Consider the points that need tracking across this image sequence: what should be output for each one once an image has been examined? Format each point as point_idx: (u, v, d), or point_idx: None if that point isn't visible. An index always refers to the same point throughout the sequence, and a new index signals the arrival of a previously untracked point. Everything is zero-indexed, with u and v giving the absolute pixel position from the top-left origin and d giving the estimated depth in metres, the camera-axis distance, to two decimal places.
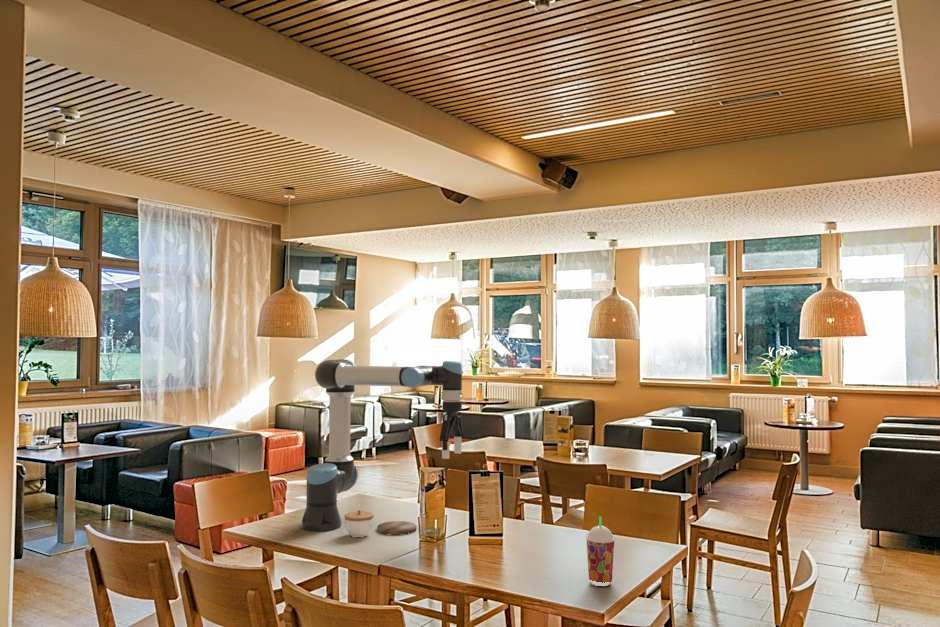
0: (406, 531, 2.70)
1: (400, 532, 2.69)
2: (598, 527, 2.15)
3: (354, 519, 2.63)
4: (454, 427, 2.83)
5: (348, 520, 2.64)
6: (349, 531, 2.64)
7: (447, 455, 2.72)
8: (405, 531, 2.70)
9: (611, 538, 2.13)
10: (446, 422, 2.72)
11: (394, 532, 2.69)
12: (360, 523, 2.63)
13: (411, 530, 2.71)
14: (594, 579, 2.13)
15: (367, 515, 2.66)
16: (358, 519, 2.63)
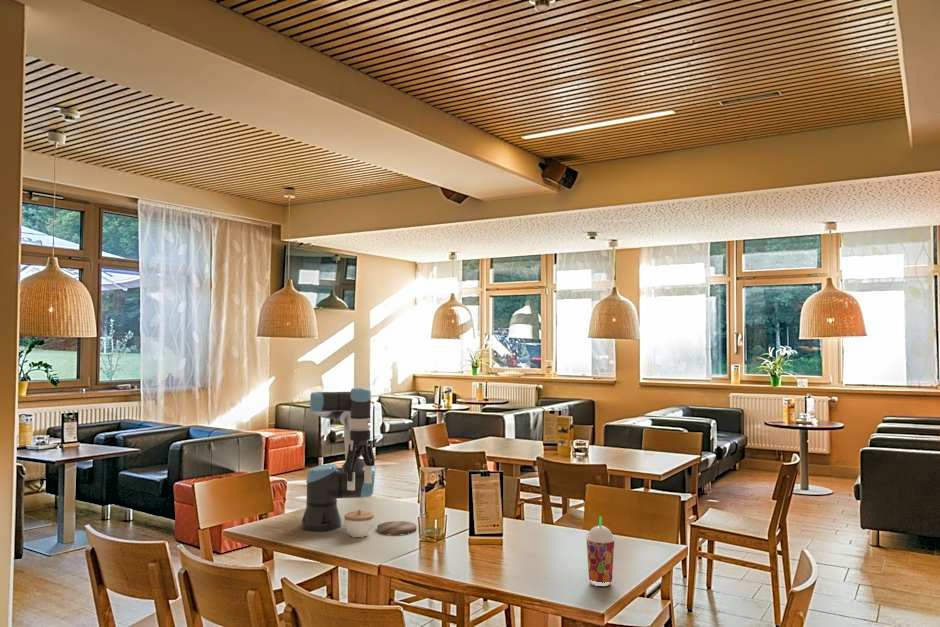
0: (406, 531, 2.70)
1: (400, 532, 2.69)
2: (598, 527, 2.15)
3: (354, 519, 2.63)
4: (363, 456, 2.73)
5: (348, 520, 2.64)
6: (349, 531, 2.64)
7: (352, 486, 2.61)
8: (405, 531, 2.70)
9: (611, 538, 2.13)
10: (351, 452, 2.62)
11: (394, 532, 2.69)
12: (360, 523, 2.63)
13: (411, 530, 2.71)
14: (594, 579, 2.13)
15: (367, 515, 2.66)
16: (358, 519, 2.63)
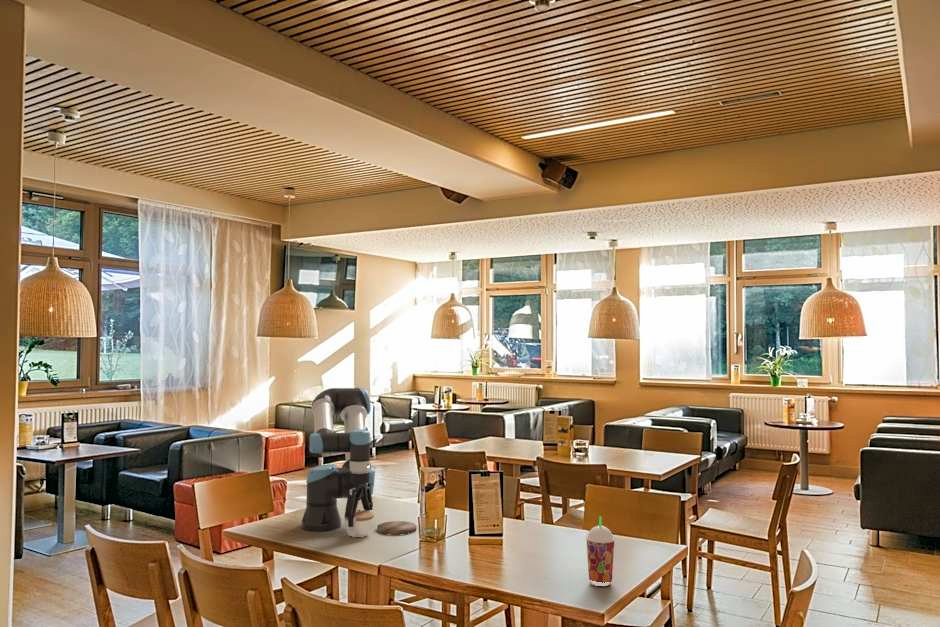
0: (406, 531, 2.70)
1: (400, 532, 2.69)
2: (598, 527, 2.15)
3: None
4: (362, 499, 2.72)
5: None
6: None
7: (353, 532, 2.62)
8: (405, 531, 2.70)
9: (611, 538, 2.13)
10: (351, 497, 2.62)
11: (394, 532, 2.69)
12: (360, 523, 2.63)
13: (411, 530, 2.71)
14: (594, 579, 2.13)
15: (367, 515, 2.66)
16: (358, 519, 2.63)
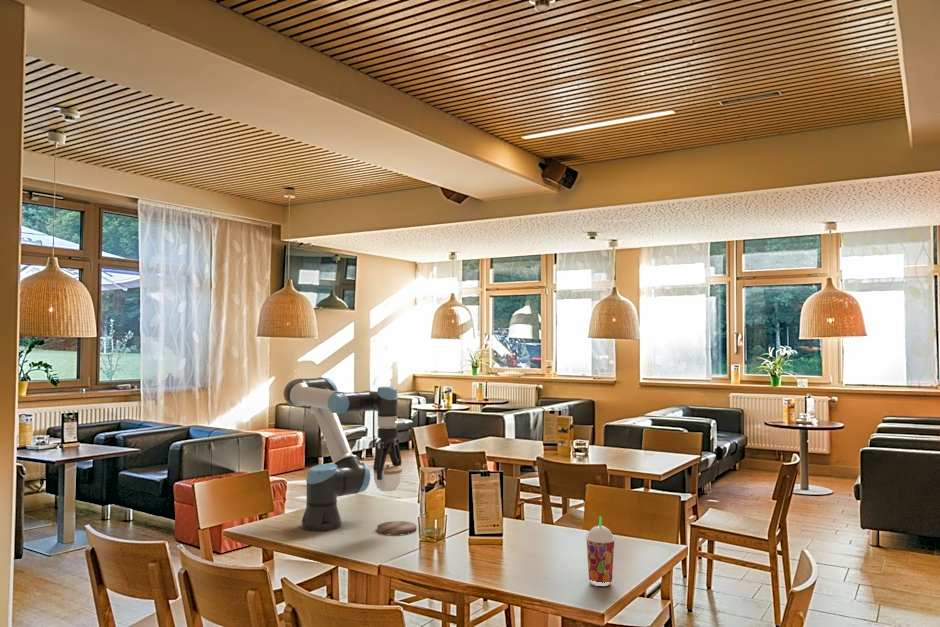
0: (406, 531, 2.70)
1: (400, 532, 2.69)
2: (598, 527, 2.15)
3: None
4: (391, 455, 2.78)
5: None
6: None
7: (382, 485, 2.68)
8: (405, 531, 2.70)
9: (611, 538, 2.13)
10: (379, 451, 2.68)
11: (394, 532, 2.69)
12: (388, 476, 2.69)
13: (411, 530, 2.71)
14: (594, 579, 2.13)
15: (395, 469, 2.72)
16: (386, 472, 2.69)
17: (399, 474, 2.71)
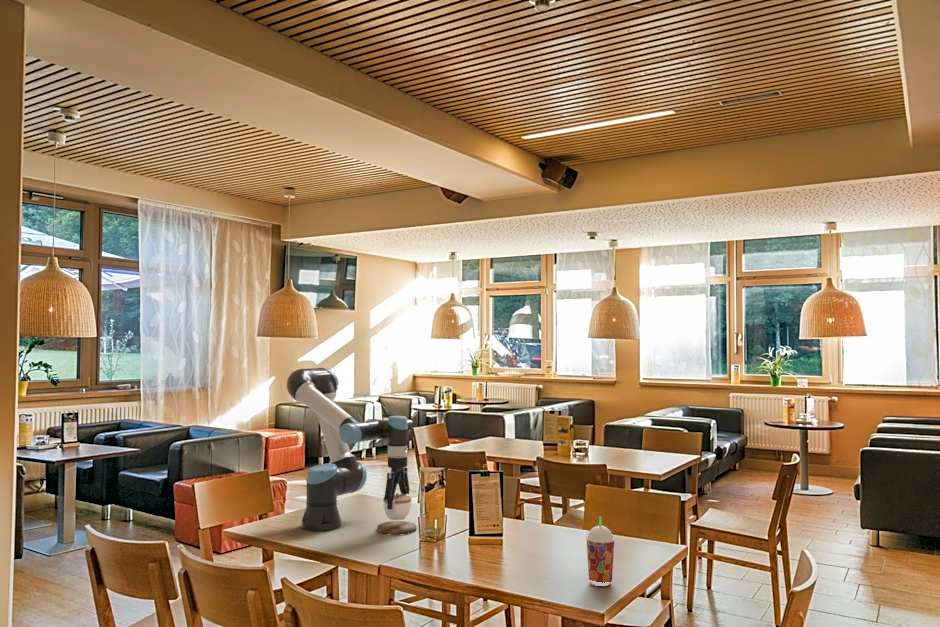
0: (406, 531, 2.70)
1: (400, 532, 2.69)
2: (598, 527, 2.15)
3: None
4: (400, 483, 2.80)
5: None
6: None
7: (392, 514, 2.70)
8: (405, 531, 2.70)
9: (611, 538, 2.13)
10: (390, 481, 2.70)
11: (394, 532, 2.69)
12: (398, 505, 2.71)
13: (411, 530, 2.71)
14: (594, 579, 2.13)
15: (405, 498, 2.75)
16: (397, 502, 2.71)
17: (409, 503, 2.74)
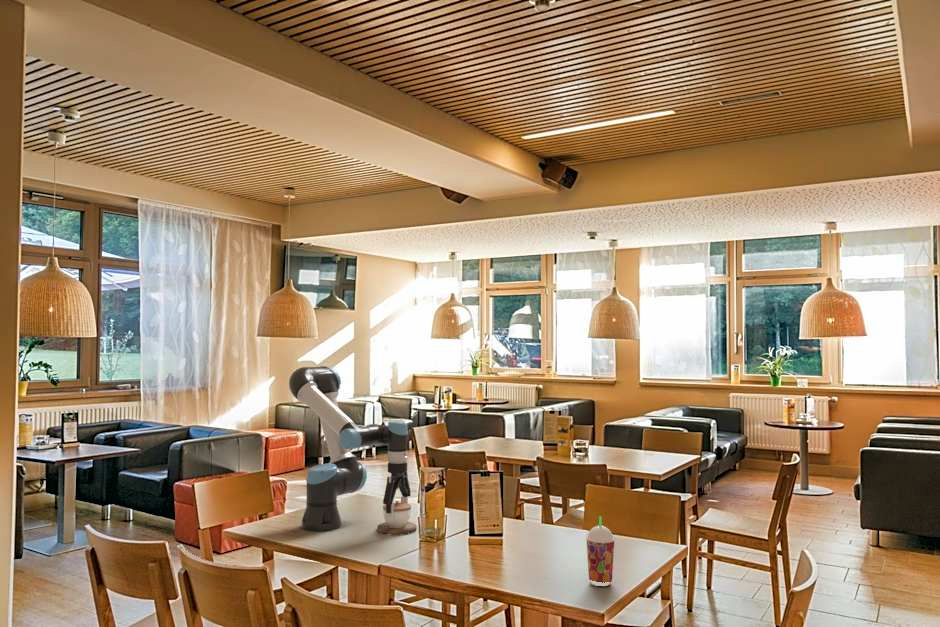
0: (406, 531, 2.70)
1: (400, 532, 2.69)
2: (598, 527, 2.15)
3: (393, 510, 2.71)
4: (400, 487, 2.81)
5: None
6: None
7: (391, 518, 2.69)
8: (405, 531, 2.70)
9: (611, 538, 2.13)
10: (390, 485, 2.70)
11: (394, 532, 2.69)
12: (398, 513, 2.71)
13: (411, 530, 2.71)
14: (594, 579, 2.13)
15: (405, 506, 2.75)
16: (397, 510, 2.71)
17: (409, 511, 2.74)
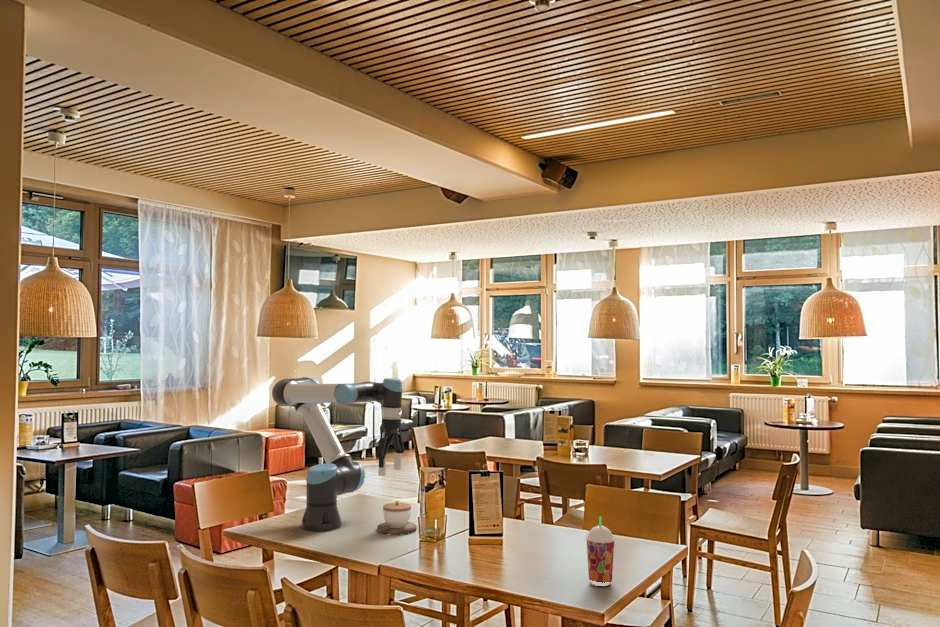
0: (406, 531, 2.70)
1: (400, 532, 2.69)
2: (598, 527, 2.15)
3: (393, 510, 2.71)
4: (394, 444, 2.85)
5: (387, 511, 2.72)
6: (388, 521, 2.73)
7: (383, 472, 2.74)
8: (405, 531, 2.70)
9: (611, 538, 2.13)
10: (383, 440, 2.74)
11: (394, 532, 2.69)
12: (398, 513, 2.71)
13: (411, 530, 2.71)
14: (594, 579, 2.13)
15: (405, 506, 2.75)
16: (397, 510, 2.71)
17: (409, 511, 2.74)
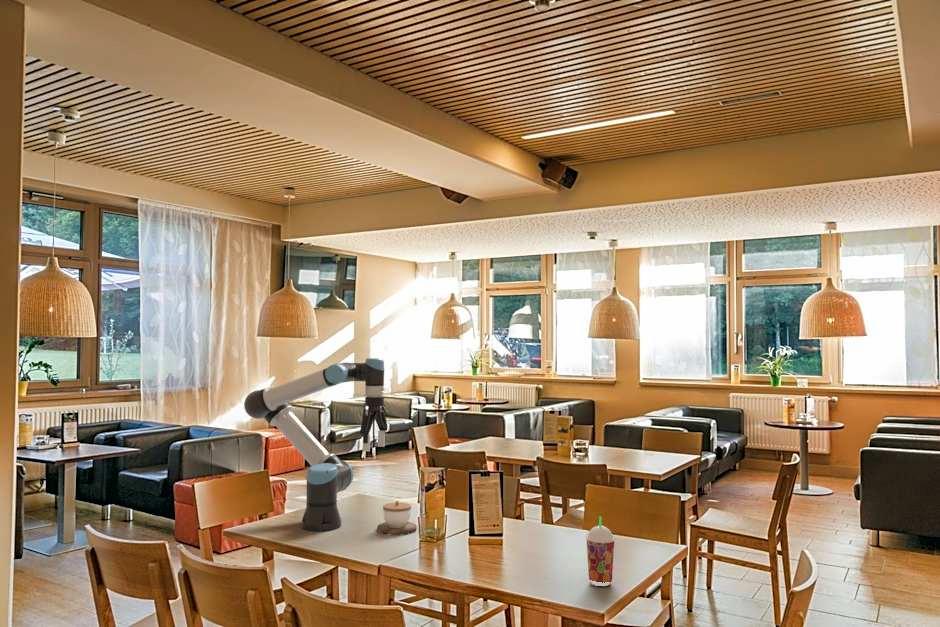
0: (406, 531, 2.70)
1: (400, 532, 2.69)
2: (598, 527, 2.15)
3: (393, 510, 2.71)
4: (377, 421, 2.96)
5: (387, 511, 2.72)
6: (388, 521, 2.73)
7: (367, 448, 2.84)
8: (405, 531, 2.70)
9: (611, 538, 2.13)
10: (367, 416, 2.85)
11: (394, 532, 2.69)
12: (398, 513, 2.71)
13: (411, 530, 2.71)
14: (594, 579, 2.13)
15: (405, 506, 2.75)
16: (397, 510, 2.71)
17: (409, 511, 2.74)
